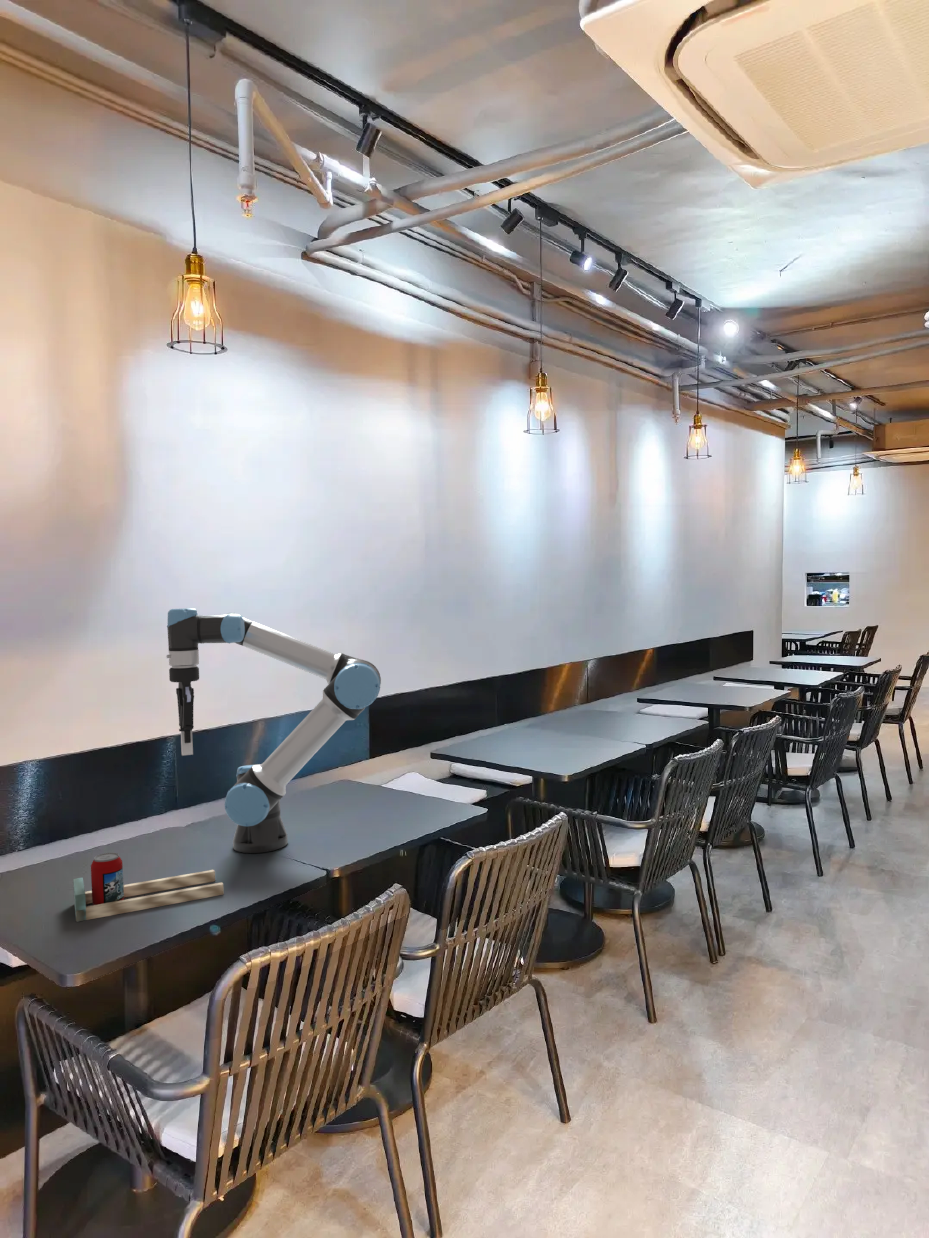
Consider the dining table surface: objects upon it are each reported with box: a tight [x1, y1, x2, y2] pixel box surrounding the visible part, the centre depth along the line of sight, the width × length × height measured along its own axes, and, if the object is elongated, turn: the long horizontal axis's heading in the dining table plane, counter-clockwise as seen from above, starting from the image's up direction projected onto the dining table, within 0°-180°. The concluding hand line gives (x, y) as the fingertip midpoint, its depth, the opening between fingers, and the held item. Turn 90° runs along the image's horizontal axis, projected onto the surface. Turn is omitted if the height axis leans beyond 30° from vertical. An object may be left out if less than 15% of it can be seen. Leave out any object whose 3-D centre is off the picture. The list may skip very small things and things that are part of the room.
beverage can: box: [90, 852, 125, 906], centre depth 192 cm, size 7×7×12 cm
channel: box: [72, 869, 225, 923], centre depth 197 cm, size 32×12×6 cm, turn 117°
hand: (187, 754), depth 221 cm, fingers closed
